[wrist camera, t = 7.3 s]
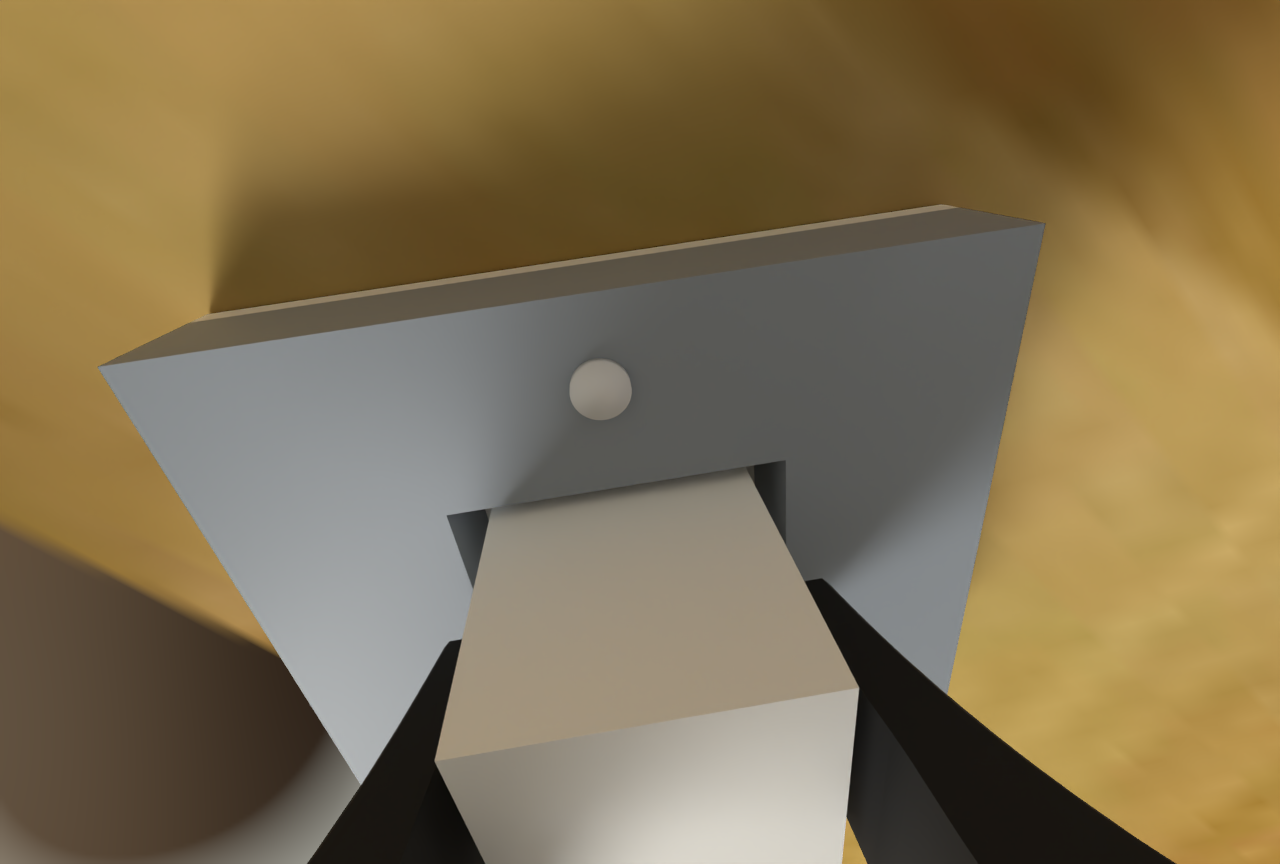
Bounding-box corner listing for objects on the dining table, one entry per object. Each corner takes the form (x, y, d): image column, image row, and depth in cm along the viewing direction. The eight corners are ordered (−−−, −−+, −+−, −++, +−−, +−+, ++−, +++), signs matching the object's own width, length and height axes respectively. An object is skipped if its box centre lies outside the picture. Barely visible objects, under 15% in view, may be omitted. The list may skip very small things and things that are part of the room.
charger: (723, 424, 11) (859, 686, 6) (733, 589, 13) (838, 893, 8) (502, 460, 11) (433, 762, 6) (547, 620, 13) (527, 949, 8)
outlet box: (942, 204, 10) (1056, 225, 8) (886, 659, 16) (941, 753, 13) (207, 314, 10) (85, 372, 7) (422, 740, 15) (394, 852, 13)
